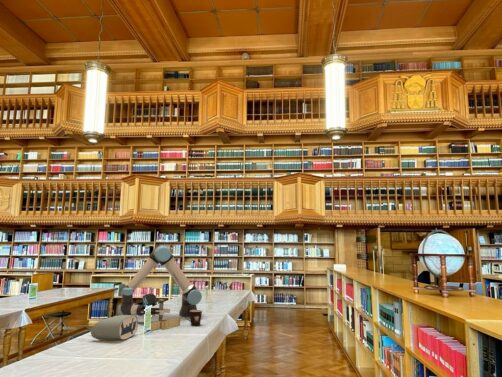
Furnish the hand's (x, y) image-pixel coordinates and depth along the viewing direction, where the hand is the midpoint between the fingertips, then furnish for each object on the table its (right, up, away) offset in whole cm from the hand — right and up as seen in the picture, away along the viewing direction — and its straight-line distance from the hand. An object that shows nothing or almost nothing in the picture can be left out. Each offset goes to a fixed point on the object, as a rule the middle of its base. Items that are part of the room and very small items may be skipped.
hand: (166, 311), depth 271 cm
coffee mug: (+20, -9, -2) cm, 22 cm away
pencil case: (-23, -3, -42) cm, 47 cm away
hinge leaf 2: (+4, -7, -10) cm, 13 cm away
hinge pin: (-5, -9, 0) cm, 10 cm away
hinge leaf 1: (-3, -6, -17) cm, 18 cm away
